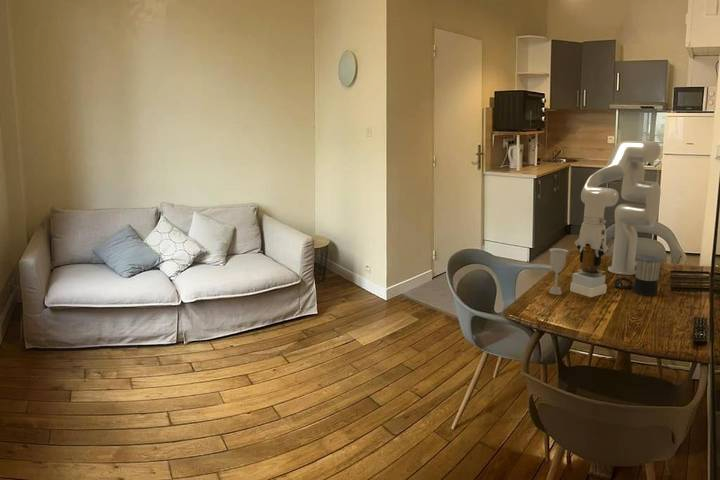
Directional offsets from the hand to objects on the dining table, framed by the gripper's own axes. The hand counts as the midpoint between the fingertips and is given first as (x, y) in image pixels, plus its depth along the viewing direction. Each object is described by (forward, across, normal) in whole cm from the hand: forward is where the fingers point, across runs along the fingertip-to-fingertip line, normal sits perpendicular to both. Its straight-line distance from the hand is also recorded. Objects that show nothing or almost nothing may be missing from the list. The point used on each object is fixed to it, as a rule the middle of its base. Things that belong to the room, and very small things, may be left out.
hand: (589, 263), depth 244 cm
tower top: (+9, 0, 0) cm, 9 cm away
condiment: (+3, -1, 0) cm, 4 cm away
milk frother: (+13, -10, -18) cm, 24 cm away
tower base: (+13, 0, 0) cm, 13 cm away
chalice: (+12, +6, +12) cm, 18 cm away
